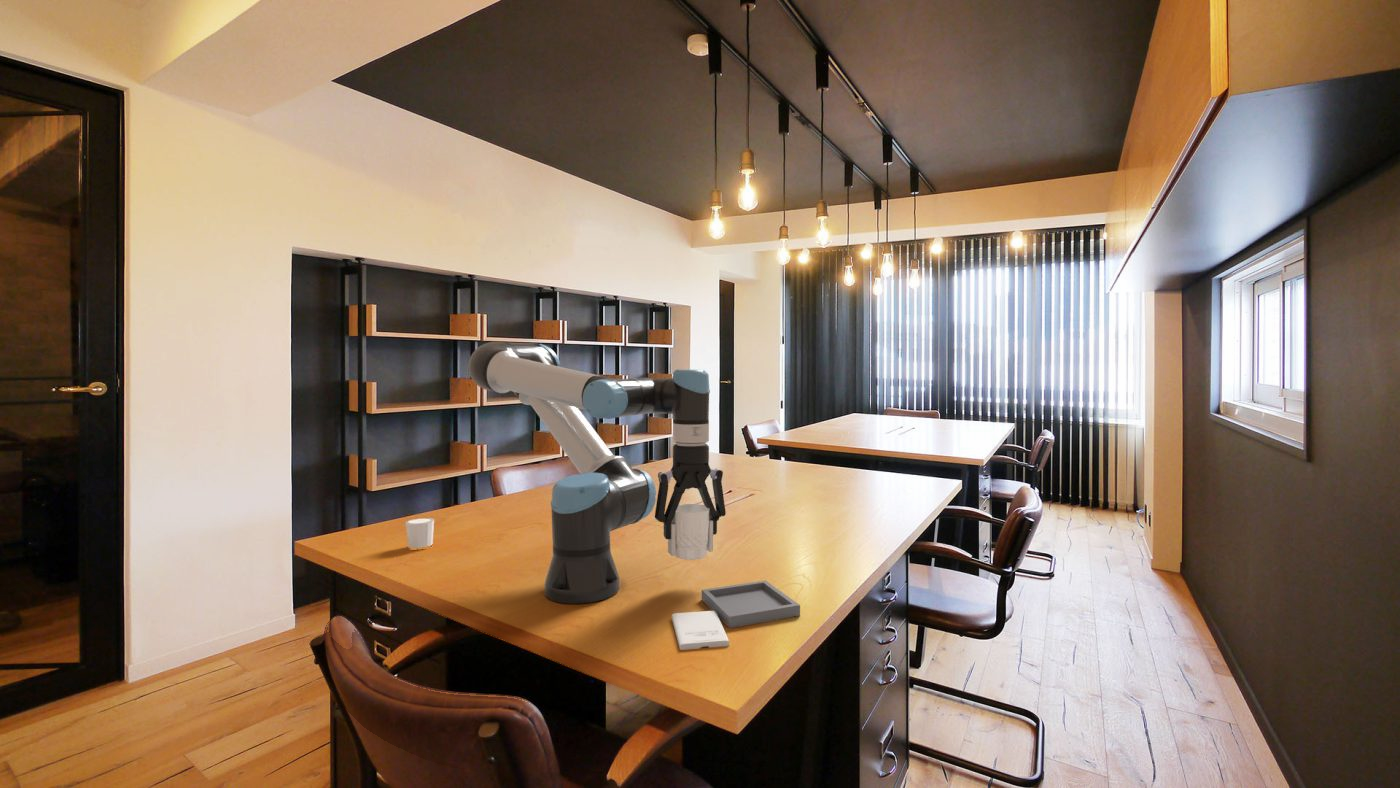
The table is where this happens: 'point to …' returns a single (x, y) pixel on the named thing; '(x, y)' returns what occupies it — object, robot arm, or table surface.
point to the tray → (749, 603)
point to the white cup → (691, 531)
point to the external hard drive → (699, 630)
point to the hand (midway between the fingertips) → (690, 551)
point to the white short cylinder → (420, 532)
